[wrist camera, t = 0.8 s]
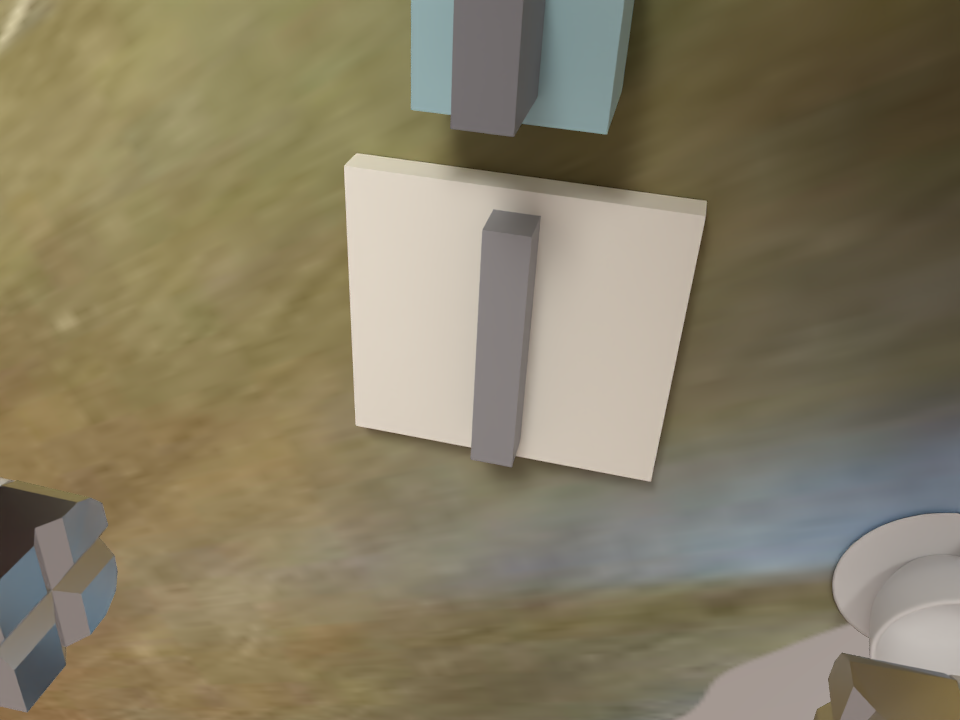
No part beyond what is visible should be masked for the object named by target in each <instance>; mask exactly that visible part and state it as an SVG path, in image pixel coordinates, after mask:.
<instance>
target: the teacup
mask: <svg viewBox="0 0 960 720" xmlns="http://www.w3.org/2000/svg"><path fill="white" fill-rule="evenodd" d="M832 589H833V596H834V600H835V602H836V605H837V607H838V609H839V611H840V612H841V614H842V615H843V616H844V618H845V619H846V620H847V621H848V623H850V624H851V625H852V626H853V627H854V628H855V629H856V630H857V631H859V632H860V633H862V634H863V635H865V636H866V637H868V638H869V644H870V645H869V646H870V647H869V653H870V654H869V655H870V659H875V660H881V661H886V662H891V663H896V664H901V665H906V666H911V667H916V668H921V669H926V670H931V671H936V672H941V673H945V674H947V675H951V674H952V675H957V676H960V514H959V513H932V514H923V515H917V516H911V517H907V518H903V519H899V520H896V521H893V522H890V523H887V524H885V525H882V526H880V527H878V528H876V529H874V530H872V531H870V532H869V533H867V534H865V535H864V536H862V537H861V538H860V539H858V540H857V541H856V542H855V543H853V544H852V545H851V546H850V547H849V548H848V549H847V551H846V552H845V553H844V554H843V556H842V557H841V558H840V560H839V562H838V564H837V566H836V568H835V571H834V575H833V581H832Z"/></svg>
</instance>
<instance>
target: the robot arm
mask: <svg viewBox="0 0 960 720" xmlns="http://www.w3.org/2000/svg"><path fill="white" fill-rule="evenodd" d="M107 526H108V523H107V519H106V516H105V512H104V508H103V504H102V503H101V502H99V501H97V500H94V499H92V498H90V497H86V496H81V495H77V494H73V493H69V492H64V491H60V490H56V489H52V488H47V487H43V486H39V485H35V484H30V483H26V482H22V481H18V480H17V481H14V480H10V479H6V478H1V477H0V706H1V707H5V708H10V709H14V710H19V711H23V712H28V711H29V710H30V709H31V707H32V706H33V705H34V704H35V702H36V701H37V700H38V699H39V698H40V696H41V695H42V694H43V693H44V691H45V690H46V689H47V688H48V687H49V685H50V684H51V683H52V682H53V680H54V679H55V678H56V677H57V676H58V674H59V673H60V672H61V671H62V669H63V668H64V667H65V666H66V647H67V646H69V645H71V644H73V643H75V642H77V641H79V640H81V639H83V638H85V637H87V636H89V635H91V634H92V632H93V631H94V630H95V628H96V627H97V626H98V625H99V623H100V622H101V621H102V619H103V618H104V617H105V616H106V614H107V611H108V609H109V606H110V604H111V601H112V599H113V596H114V594H115V592H116V584H117V572H118V571H117V566H116V561H115V556H114V554H113V553H112V552H111V550H110V549H109V548H108V547H107V546H106V545H105V543H104V542H103V541H102V540H101V539H100V538H99V537H100V536H101V535H102V533H103V532H104V531H105V529H106V528H107ZM828 682H829V690H830V698H831V702H829V703H827V704H826V705H824V706H822V707H820V708H818V709H817V711H816V714H815V718H814V720H960V676H957V675H952V674H951V675H947V674H945V673H941V672H936V671H931V670H926V669H921V668H916V667H911V666H906V665H901V664H896V663H891V662H886V661H881V660H875V659H870V658H865V657H860V656H855V655H850V654H845V653H841V654H840V656H839V657H838V658H837V659H836V661H835V662H834V665H833V668H832V670H831V673H830V676H829V678H828Z"/></svg>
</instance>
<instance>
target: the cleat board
mask: <svg viewBox="0 0 960 720" xmlns="http://www.w3.org/2000/svg"><path fill="white" fill-rule="evenodd" d="M344 175H345V198H346V220H347V242H348V264H349V287H350V309H351V331H352V353H353V376H354V398H355V420H356V426H361V427H366V428H371V429H377V430H382V431H387V432H392V433H398V434H403V435H408V436H413V437H419V438H424V439H429V440H434V441H440V442H445V443H450V444H455V445H461V446H466V447H471V460H476V461H482V462H487V463H492V464H497V465H502V466H508V467H512V465H513V462H514V459H515V456H518V457H524V458H529V459H534V460H539V461H545V462H550V463H555V464H560V465H566V466H571V467H576V468H581V469H587V470H592V471H597V472H602V473H608V474H613V475H618V476H623V477H629V478H634V479H639V480H644V481H649V482H651V478H652V473H653V469H654V464H655V459H656V454H657V449H658V444H659V440H660V435H661V430H662V425H663V420H664V416H665V411H666V406H667V401H668V396H669V392H670V387H671V382H672V377H673V372H674V367H675V363H676V358H677V353H678V348H679V343H680V339H681V334H682V329H683V324H684V319H685V314H686V310H687V305H688V300H689V295H690V290H691V286H692V281H693V276H694V271H695V266H696V261H697V257H698V252H699V247H700V242H701V237H702V233H703V228H704V223H705V218H706V207H707V201H704V200H696V199H689V198H682V197H674V196H667V195H660V194H652V193H645V192H638V191H630V190H623V189H616V188H608V187H601V186H594V185H586V184H579V183H572V182H564V181H557V180H550V179H542V178H535V177H528V176H520V175H513V174H506V173H498V172H491V171H484V170H476V169H469V168H462V167H454V166H447V165H440V164H432V163H425V162H418V161H410V160H403V159H396V158H388V157H381V156H374V155H366V154H359V153H356V154H355V155H354V156H353V157H352V158H351V159H350V160H349V161H348V162H347V163H346V164H345V165H344Z"/></svg>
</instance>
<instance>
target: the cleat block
mask: <svg viewBox="0 0 960 720" xmlns="http://www.w3.org/2000/svg"><path fill="white" fill-rule="evenodd" d="M633 7H634V0H411V110H416V111H424V112H432V113H440V114H448V115H451V127H450V129H456V130H464V131H472V132H479V133H487V134H495V135H503V136H510V137H514V136H515V134H516V133H517V131H518V129H519V128H520V126H521V124H527V125H535V126H543V127H551V128H559V129H567V130H575V131H583V132H591V133H599V134H607V133H608V130H609V127H610V124H611V121H612V118H613V116H614V113H615V110H616V107H617V104H618V101H619V98H620V95H621V92H622V87H623V80H624V73H625V65H626V58H627V51H628V43H629V36H630V29H631V22H632V14H633Z"/></svg>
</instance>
